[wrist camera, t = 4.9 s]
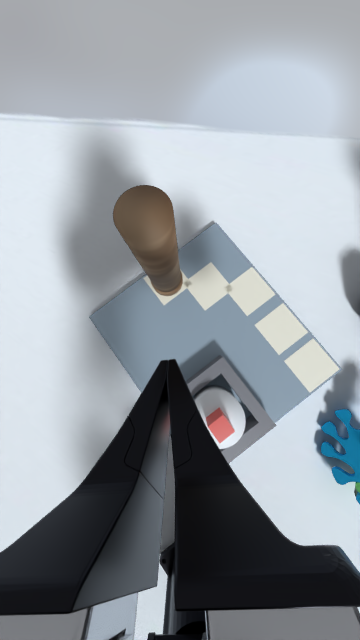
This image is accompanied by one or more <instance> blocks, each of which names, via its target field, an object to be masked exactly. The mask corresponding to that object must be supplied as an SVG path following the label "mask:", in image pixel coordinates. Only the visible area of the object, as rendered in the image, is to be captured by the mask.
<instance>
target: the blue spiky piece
mask: <svg viewBox="0 0 360 640" xmlns="http://www.w3.org/2000/svg"><path fill="white" fill-rule="evenodd" d="M335 414H336V416H337V417H338V418H339V419H340V420H341V421H342V422H343V423H344V425H345V426H346V428H347V431H348V434H349V437H348V438H342V437H341V436H339V435H338V433H337V429H336V426H335V425H334V424H333V423H332V422H330V421H328V422H326V423H325V424H324V425H323V426H322V427H321V429H322V430H323V431H324V432H325V433H326V434H328V435H330V436H332V437H334V438H335V439H336V440H337V441H338V442H339V443H340V444H341V445H342V446H343V448H344V449H345V451H346V453H345V454H341V453H339V452H337V451H336V450H335V448H334V447H333V446H332V445H331V444H330V443H329V442H326V441H324V442H323V443H322V446H321V453H322V454H323V455H325V456H327V457H334V458H337V459H340V460H342V461H343V462H345V463H346V464H348V465H349V466H351V467H352V468H353V470H354V472H355V473H354V474H349V473H347V472H346V471H344V470H343V469H342V468H340V467H337V466H335V467H333V468H332V473H333V476H334V478H335V480H336V482H337V483H339V484H341V485H344V484H346V483H348V482H356V485H355V491H354V493H355V496H356V500H357V501H358V503H359V504H360V429H355V428H353V427H352V426H351V425H350V419H351V417H352V414H351V412H350V411H349V410H348V409H341V410H336V411H335Z"/></svg>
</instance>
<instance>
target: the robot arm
mask: <svg viewBox="0 0 360 640" xmlns="http://www.w3.org/2000/svg"><path fill="white" fill-rule="evenodd" d="M170 427H171V439H172V451H173V463H174V475H175V543H173V544H172V545H171V546H170V547H168V548H167V549H166V550H165V551H163V552H162V553H161V555H160V544H161V531H162V519H163V507H164V494H165V481H166V469H167V456H168V444H169V431H170ZM159 556H160V564H161V566H162V567H163V569H164V571H165V572H166V574H167V575H168V579H167V591H166V602H165V614H164V626H163V634H160V635H155V633H149V634H148V639H147V640H360V613H359V611H358V609H357V607H360V573H359V571H358V570H357V569H356V567H355V566H354V565H353V563H352V562H351V561H350V559H349V558H348V557H347V555H346V554H345V553H344V551H343V550H342V549H341V548H340V547H339V546H336V545H313V546H302V545H298V544H296V543H294V542H292V541H290V540H289V539H288V538H286V537H285V536H284V535H283V534H282V533H281V532H280V531H279V530H278V528H277V527H276V526H275V525H274V523H273V522H272V521H271V520H270V518H269V517H268V516H267V515H266V513H265V512H264V511H263V510H262V508H261V507H260V506H259V505H258V503H257V502H256V501H255V500H254V498H253V497H252V496H251V495H250V493H249V492H248V491H247V490H246V488H245V487H244V486H243V484H242V483H241V482H240V480H239V479H238V478H237V476H236V475H235V473H234V472H233V470H232V469H231V467H230V465H229V464H228V462H227V460H226V459H225V457H224V456H223V454H222V452H221V451H220V449H219V447H218V446H217V444H216V442H215V441H214V439H213V437H212V436H211V434H210V432H209V430H208V429H207V427H206V425H205V423H204V421H203V419H202V417H201V414H200V412H199V410H198V408H197V406H196V403H195V401H194V399H193V397H192V394H191V392H190V390H189V388H188V385H187V383H186V381H185V379H184V376H183V374H182V372H181V370H180V368H179V365H178V363H177V361H176V359H169V360H161V361H160V363H159V365H158V366H157V368H156V370H155V371H154V373H153V375H152V376H151V378H150V380H149V381H148V383H147V385H146V386H145V388H144V390H143V392H142V393H141V395H140V397H139V398H138V400H137V402H136V403H135V405H134V407H133V408H132V410H131V412H130V414H129V416H128V417H127V418H126V420H125V422H124V424H123V425H122V427H121V428H120V430H119V432H118V433H117V435H116V436H115V438H114V439H113V440H112V442H111V443H110V445H109V446H108V448H107V449H106V450H105V452H104V453H103V455H102V456H101V457H100V459H99V460H98V462H97V463H96V464H95V466H94V467H93V468H92V470H91V471H90V473H89V474H88V475H87V477H86V478H85V479H84V481H83V482H82V483H81V484H80V485H79V487H78V488H77V489H76V490H75V491H74V492H73V493H72V494H71V495H70V496H68V497H67V498H66V499H65V500H64V501H63V502H61V503H60V504H59V505H58V506H57V507H55V508H54V509H53V510H52V511H51V512H50V513H48V514H47V515H46V516H45V517H44V518H42V519H41V520H40V521H39V522H38V523H36V524H35V525H34V526H33V527H32V528H31V529H29V530H28V531H27V532H26V533H25V534H23V535H22V536H21V537H20V538H19V539H18V540H16V541H15V542H14V543H13V544H11V545H10V546H9V547H8V548H6V549H5V550H3V551H2V552H0V640H134V632H135V621H136V611H137V600H138V592H140V591H143V590H147V589H150V588H153V587H156V586H157V581H158V569H159Z"/></svg>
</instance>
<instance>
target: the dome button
mask: <svg viewBox="0 0 360 640" xmlns="http://www.w3.org/2000/svg"><path fill="white" fill-rule="evenodd" d="M193 399H194V401H195V403H196V406H197V408H198V410H199V412H200V414H201V417H202V419H203V421H204V423H205V425H206V427H207V429H208V430H209V432H210V434H211V436H212V437H213V439H214V441H215V442H216V444H217V446H218V447H219V449H224V448H228V447H230V446H232V445H234V444H235V443H236V442H238V440H239V439H240V438H241V436H242V435H243V432H244V429H245V424H246V420H245V414H244V411H243V408H242V406H241V405H240V403H239V402H238V401H237V400H236V398H235V397H234V396H233V394H232V393H231V392H230V391H229V390H227V389H226V388H224V387H222V386H218V385H209V386H205V387H203V388H202V389H200V390H199V391H198V392H197V393H196V394H195V395H194V397H193Z"/></svg>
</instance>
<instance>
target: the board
mask: <svg viewBox="0 0 360 640" xmlns="http://www.w3.org/2000/svg"><path fill="white" fill-rule="evenodd" d="M178 256H179V265H180V270H181V272H182V277H183V284H182V287H181V289H180V290H179V291H178V292H177V293H176V294H174V295H172V296H163V295H160V294H159V293H157V292H156V291H155V289H154V288H153V286H152V284H151V280H150V279H149V277H148V276H147V274H146V275H145V276H143V277H142V278H141V279H139V280H138V281H137V282H135V283H134V284H132V285H131V286H130V287H128V288H127V289H126V290H124V291H123V292H122V293H120V294H119V295H118V296H116V297H115V298H114V299H112V300H111V301H110V302H108V303H107V304H106V305H104V306H103V307H102V308H100V309H99V310H98V311H96V312H95V313H94V314H92V315H91V316H90V317H89V318H90V319H91V321H92V322H93V324H94V325H95V326H96V328H97V329H98V331H99V332H100V334H101V335H102V336H103V338H104V339H105V341H106V342H107V344H108V345H109V347H110V348H111V349H112V351H113V352H114V354H115V355H116V357H117V358H118V360H119V361H120V362H121V364H122V365H123V367H124V368H125V370H126V371H127V373H128V374H129V375H130V377H131V378H132V380H133V381H134V383H135V384H136V386H137V387H138V388H139V390H140V391H141V393H142V392H143V390H144V388H145V386H146V385H147V383H148V381H149V380H150V378H151V376H152V375H153V373H154V371H155V370H156V368H157V366H158V365H159V363H160V361H161V360H169V359H176V361H177V363H178V365H179V368H180V370H181V372H182V374H183V376H184V379H185V381H186V383H187V385H188V388H189V390H190V392H191V394H192V397H194V395H195V394H196V393H197V392H198V391H199V390H200V389H202V388H203V387H205V386H209V385H218V386H222V387H224V388H226V389H227V390H229V391H230V392H231V393H232V394H233V396H234V397H235V398H236V400H237V401H238V402H239V403H240V405H241V406H242V408H243V411H244V414H245V420H246V424H245V429H244V432H243V435H242V436H241V438H240V439H239V440H238V442H236V443H235V444H234V445H232V446H230V447H228V448H224V449H220V451H221V452H222V454H223V456H224V457H225V459H226V460H227V462H228V463H230V462H231V461H232V460H234V459H235V458H236V457H237V456H239V455H240V454H241V453H242V452H244V451H245V450H246V449H247V448H249V447H250V446H251V445H252V444H254V443H255V442H256V441H257V440H259V439H260V438H261V437H262V436H264V435H265V434H266V433H268V432H269V431H270V430H271V429H273V428H274V427H275V426H276V424H275V422H277V421H278V420H279V419H280V418H282V417H283V416H284V415H285V414H287V413H288V412H289V411H290V410H292V409H293V408H294V407H296V406H297V405H298V404H299V403H301V402H302V401H303V400H304V399H306V398H307V397H308V396H309V395H311V394H312V393H313V392H314V391H316V390H317V389H318V388H319V387H321V386H322V385H323V384H324V383H326V382H327V381H328V380H330V379H331V378H332V377H333V376H335V375H336V374H337V373H338V372H340V371H341V370H342V368H341V367H340V366H339V365H338V364H337V363H336V361H335V360H334V359H333V358H332V357H331V356H330V354H329V353H328V352H327V351H326V350H325V349H324V347H323V346H322V345H321V344H320V343H319V342H318V341H317V339H316V338H315V337H314V336H313V335H312V334H311V332H310V331H309V330H308V329H307V328H306V327H305V325H304V324H303V323H302V322H301V321H300V320H299V318H298V317H297V316H296V315H295V314H294V313H293V311H292V310H291V309H290V308H289V307H288V306H287V304H286V303H285V302H284V301H283V300H282V299H281V297H280V296H279V295H278V294H277V293H276V292H275V290H274V289H273V288H272V287H271V286H270V285H269V283H268V282H267V281H266V280H265V279H264V278H263V276H262V275H261V274H260V273H259V272H258V271H257V269H256V268H255V267H254V266H253V265H252V264H251V262H250V261H249V260H248V259H247V258H246V257H245V255H244V254H243V253H242V252H241V251H240V250H239V248H238V247H237V246H236V245H235V244H234V243H233V241H232V240H231V239H230V238H229V237H228V236H227V234H226V233H225V232H224V231H223V230H222V229H221V227H220V226H219V225H218V224H217V223H214V224H213V225H212V226H210V227H209V228H208V229H206V230H205V231H204V232H202V233H201V234H200V235H198V236H197V237H196V238H194V239H193V240H192V241H190V242H189V243H188V244H186V245H185V246H183V247H182V248H181V249H179V250H178ZM169 433H170V435H171V427H170V431H169Z"/></svg>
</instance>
